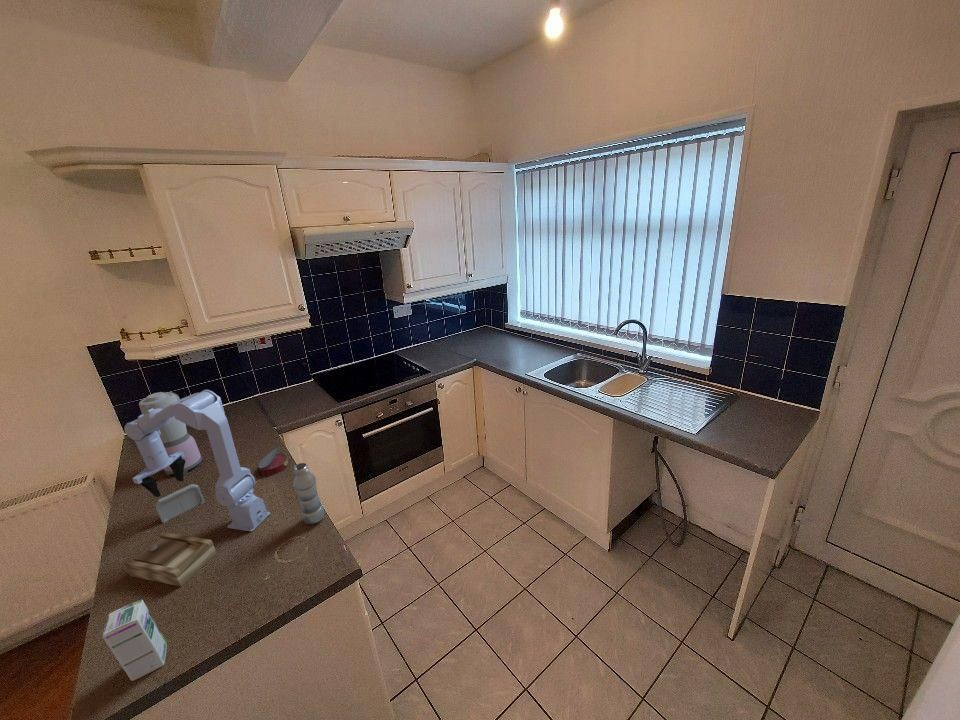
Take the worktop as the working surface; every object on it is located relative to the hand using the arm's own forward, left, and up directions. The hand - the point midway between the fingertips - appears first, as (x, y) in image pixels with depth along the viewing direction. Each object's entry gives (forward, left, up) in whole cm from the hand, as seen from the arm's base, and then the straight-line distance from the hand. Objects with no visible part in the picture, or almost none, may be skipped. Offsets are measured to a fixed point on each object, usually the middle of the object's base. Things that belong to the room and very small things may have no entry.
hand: (169, 487), depth 126 cm
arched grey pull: (-1, -1, -10) cm, 10 cm away
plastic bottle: (-49, -5, -10) cm, 50 cm away
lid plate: (-16, +17, -7) cm, 25 cm away
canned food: (-15, -27, -10) cm, 32 cm away
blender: (+24, -23, -10) cm, 35 cm away
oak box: (-19, +17, -10) cm, 28 cm away
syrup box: (-39, +39, -10) cm, 56 cm away
